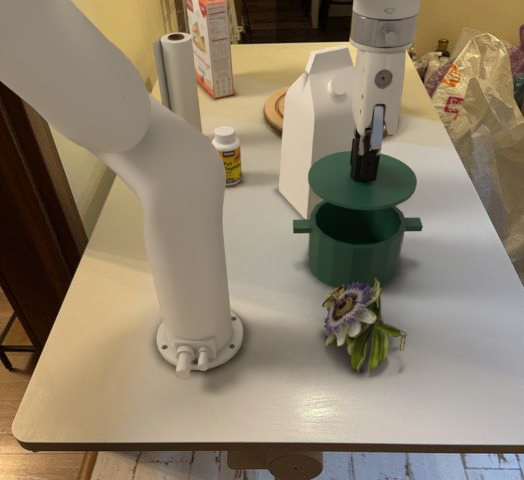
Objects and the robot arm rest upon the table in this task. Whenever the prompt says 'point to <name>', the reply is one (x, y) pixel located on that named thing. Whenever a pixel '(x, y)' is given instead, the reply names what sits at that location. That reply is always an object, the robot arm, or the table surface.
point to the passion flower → (359, 323)
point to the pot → (354, 243)
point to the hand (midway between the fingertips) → (362, 171)
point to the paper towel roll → (178, 76)
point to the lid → (361, 193)
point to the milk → (316, 122)
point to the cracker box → (211, 45)
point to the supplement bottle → (229, 153)
